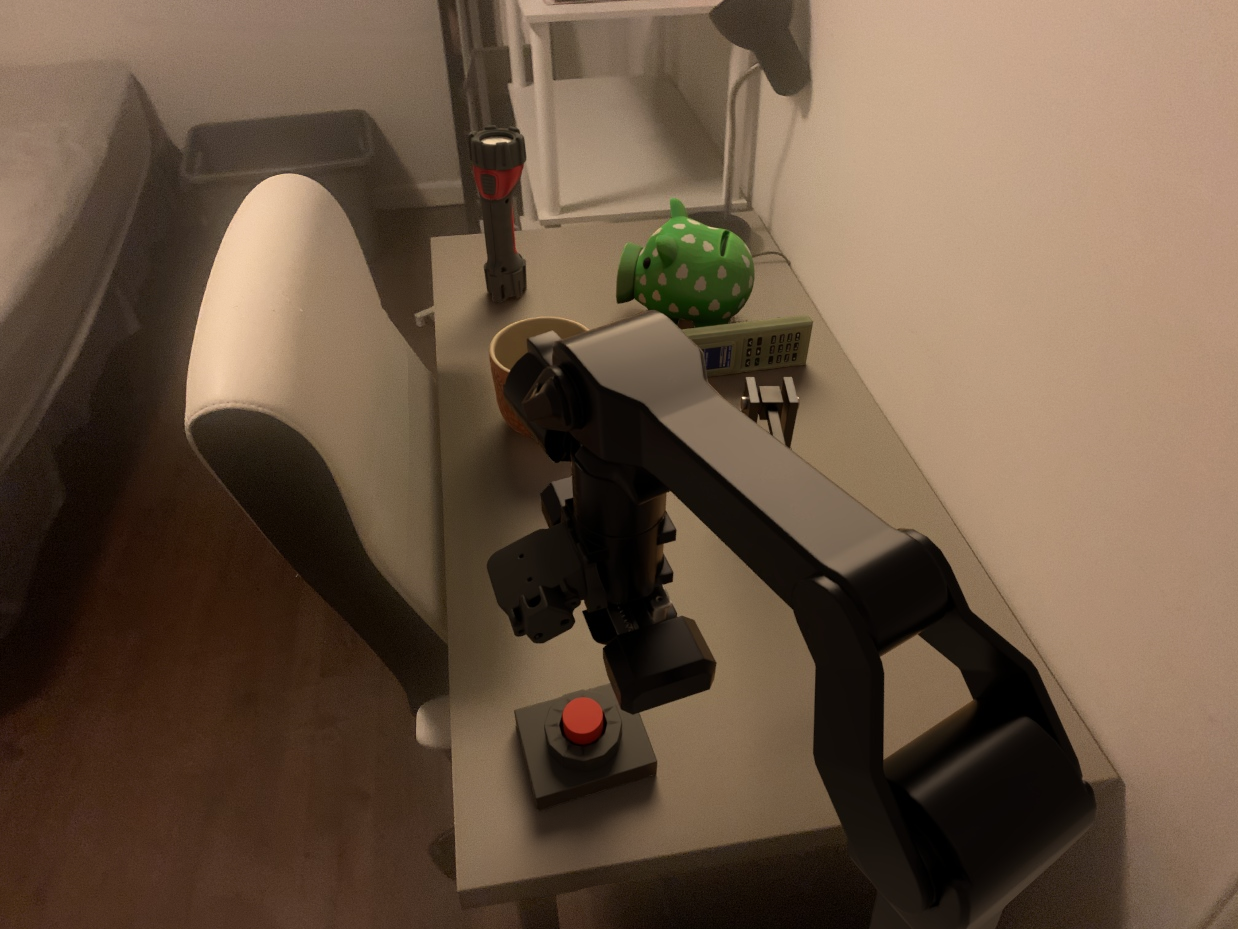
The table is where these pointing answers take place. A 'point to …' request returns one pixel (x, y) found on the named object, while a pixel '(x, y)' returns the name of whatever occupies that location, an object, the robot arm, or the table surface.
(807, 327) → the handheld radio
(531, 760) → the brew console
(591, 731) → the stop button
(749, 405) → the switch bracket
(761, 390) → the power lever
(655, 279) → the piggy bank
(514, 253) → the flashlight
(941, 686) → the table surface
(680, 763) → the table surface
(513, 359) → the planter
